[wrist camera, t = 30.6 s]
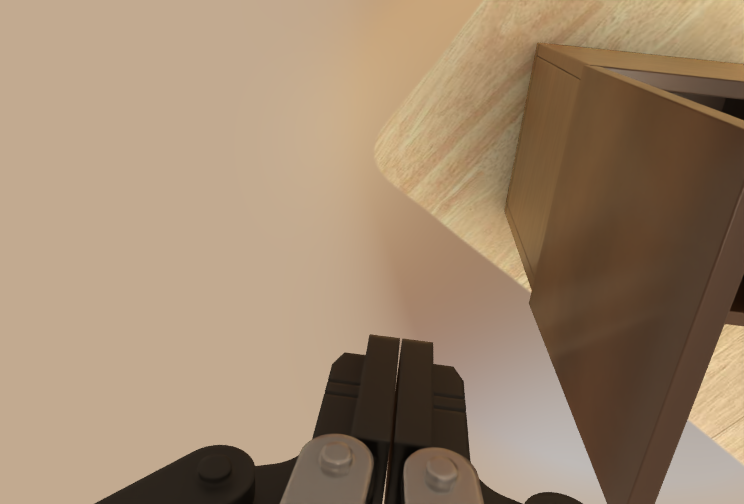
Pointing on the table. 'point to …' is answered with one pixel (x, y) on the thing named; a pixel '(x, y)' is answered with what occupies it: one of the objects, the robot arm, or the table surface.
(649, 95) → the lid
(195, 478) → the robot arm
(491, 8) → the table surface
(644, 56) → the chest
